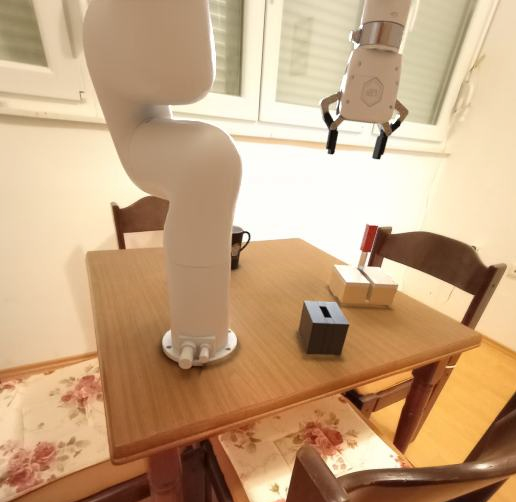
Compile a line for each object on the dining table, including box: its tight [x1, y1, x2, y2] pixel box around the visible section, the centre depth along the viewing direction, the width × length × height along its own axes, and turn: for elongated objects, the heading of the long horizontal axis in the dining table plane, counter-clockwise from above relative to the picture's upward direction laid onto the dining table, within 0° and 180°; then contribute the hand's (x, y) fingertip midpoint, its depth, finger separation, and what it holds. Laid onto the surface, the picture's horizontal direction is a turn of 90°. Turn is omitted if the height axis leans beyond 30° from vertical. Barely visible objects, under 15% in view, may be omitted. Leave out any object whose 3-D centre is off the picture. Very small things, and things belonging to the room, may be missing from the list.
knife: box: [356, 222, 379, 274], centre depth 74 cm, size 3×2×15 cm, turn 3°
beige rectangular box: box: [328, 264, 399, 309], centre depth 75 cm, size 11×12×6 cm
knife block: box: [298, 300, 350, 356], centre depth 55 cm, size 8×6×7 cm
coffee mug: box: [231, 224, 252, 271], centre depth 85 cm, size 12×9×10 cm
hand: (353, 156), depth 64 cm, fingers open, 9 cm apart
